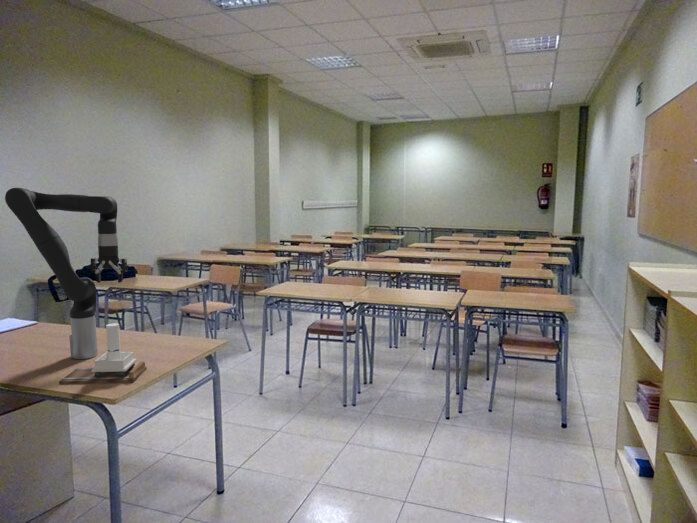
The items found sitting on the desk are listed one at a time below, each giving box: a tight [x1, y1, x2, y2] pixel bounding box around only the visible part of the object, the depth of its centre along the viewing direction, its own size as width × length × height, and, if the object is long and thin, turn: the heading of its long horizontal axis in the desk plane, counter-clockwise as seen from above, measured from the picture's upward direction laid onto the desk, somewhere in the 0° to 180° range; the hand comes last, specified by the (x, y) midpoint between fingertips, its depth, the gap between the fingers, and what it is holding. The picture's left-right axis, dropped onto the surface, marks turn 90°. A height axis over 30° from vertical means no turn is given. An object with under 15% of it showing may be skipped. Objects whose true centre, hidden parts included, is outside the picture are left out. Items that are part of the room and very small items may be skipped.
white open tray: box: [91, 351, 138, 378], centre depth 186 cm, size 12×12×6 cm
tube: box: [105, 322, 122, 360], centre depth 185 cm, size 4×4×15 cm
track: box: [58, 361, 147, 385], centre depth 186 cm, size 26×14×3 cm, turn 94°
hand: (109, 282), depth 210 cm, fingers open, 8 cm apart
